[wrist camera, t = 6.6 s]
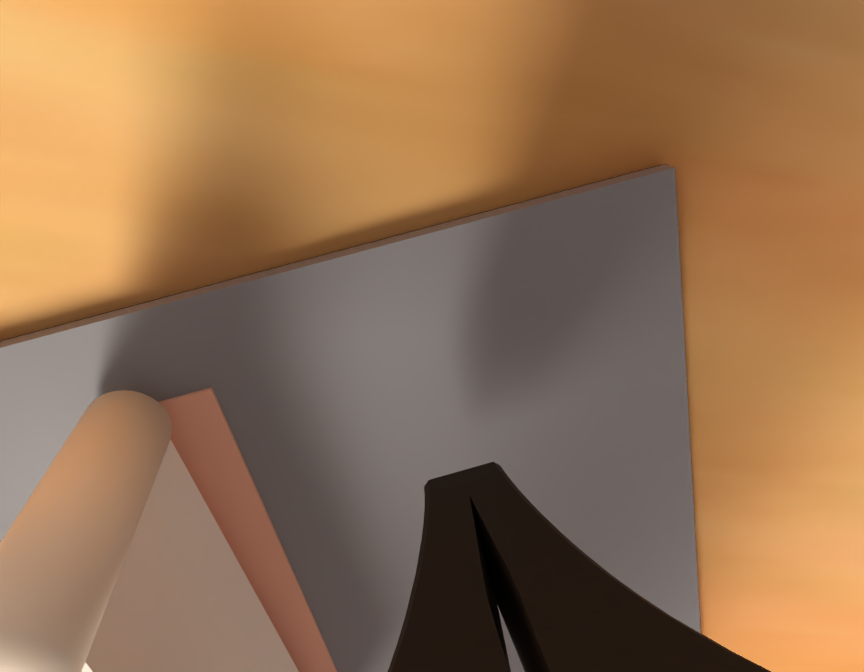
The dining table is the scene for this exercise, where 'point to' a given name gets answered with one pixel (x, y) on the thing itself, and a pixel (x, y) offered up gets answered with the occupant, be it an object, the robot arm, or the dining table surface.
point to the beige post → (126, 561)
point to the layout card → (406, 404)
